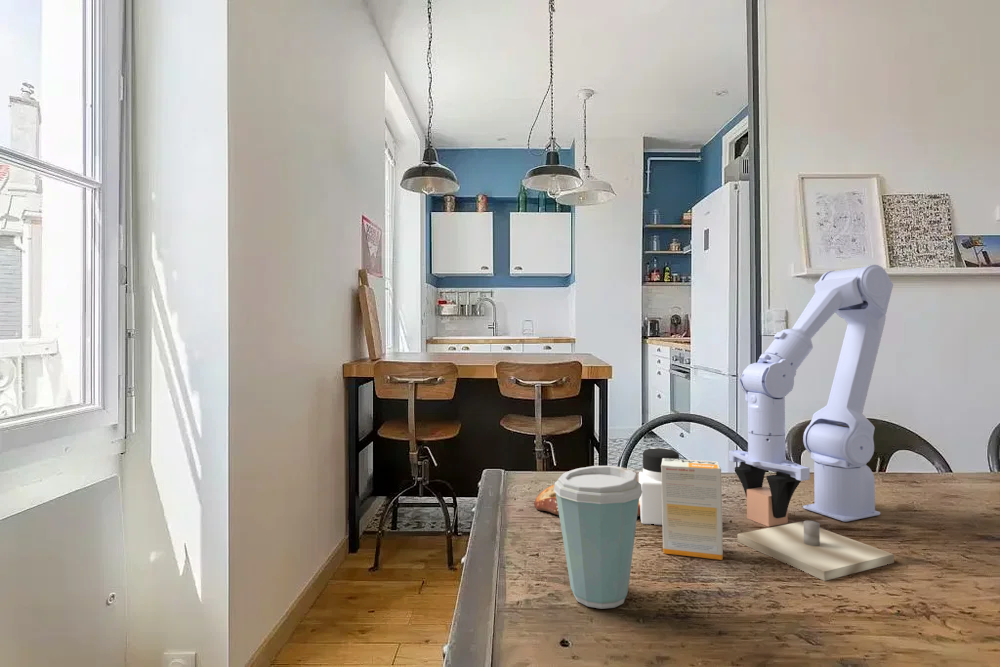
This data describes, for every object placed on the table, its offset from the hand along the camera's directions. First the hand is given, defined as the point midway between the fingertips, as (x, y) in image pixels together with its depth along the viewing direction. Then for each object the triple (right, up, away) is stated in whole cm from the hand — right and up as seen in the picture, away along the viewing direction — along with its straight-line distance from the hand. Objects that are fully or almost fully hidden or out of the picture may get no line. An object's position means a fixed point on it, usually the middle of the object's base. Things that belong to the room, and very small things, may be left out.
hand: (766, 512), depth 89 cm
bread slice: (-29, -2, +7) cm, 29 cm away
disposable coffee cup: (-34, -2, -26) cm, 42 cm away
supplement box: (-18, -2, -13) cm, 22 cm away
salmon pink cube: (0, -1, 0) cm, 1 cm away
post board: (0, -1, -13) cm, 13 cm away
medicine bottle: (-18, -2, +1) cm, 18 cm away
